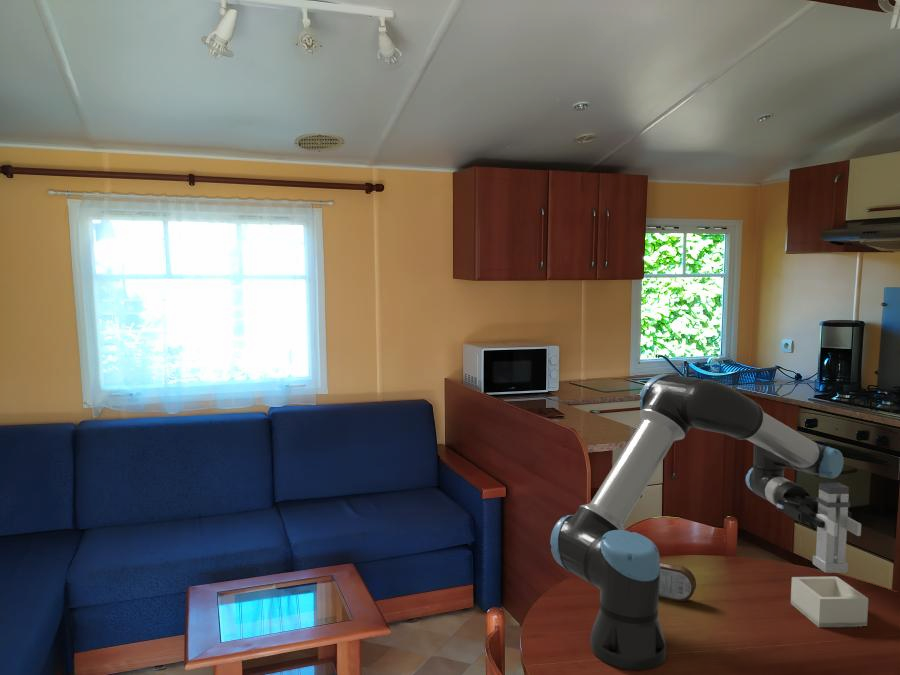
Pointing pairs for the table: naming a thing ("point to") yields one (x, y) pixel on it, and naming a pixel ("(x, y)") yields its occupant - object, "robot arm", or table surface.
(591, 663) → the table surface
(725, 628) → the table surface
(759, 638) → the table surface
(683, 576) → the tin
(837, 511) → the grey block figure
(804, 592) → the open box
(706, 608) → the table surface
